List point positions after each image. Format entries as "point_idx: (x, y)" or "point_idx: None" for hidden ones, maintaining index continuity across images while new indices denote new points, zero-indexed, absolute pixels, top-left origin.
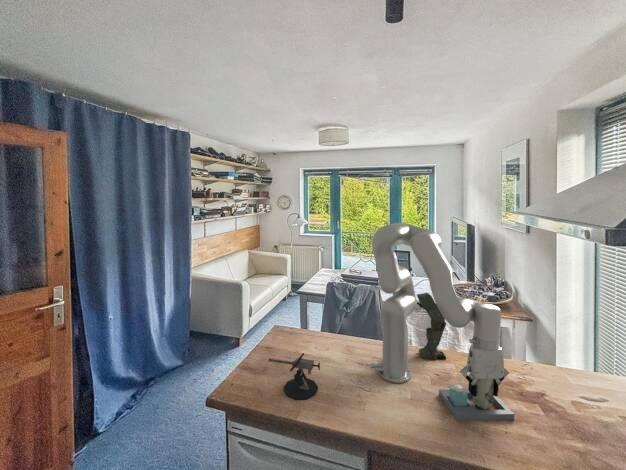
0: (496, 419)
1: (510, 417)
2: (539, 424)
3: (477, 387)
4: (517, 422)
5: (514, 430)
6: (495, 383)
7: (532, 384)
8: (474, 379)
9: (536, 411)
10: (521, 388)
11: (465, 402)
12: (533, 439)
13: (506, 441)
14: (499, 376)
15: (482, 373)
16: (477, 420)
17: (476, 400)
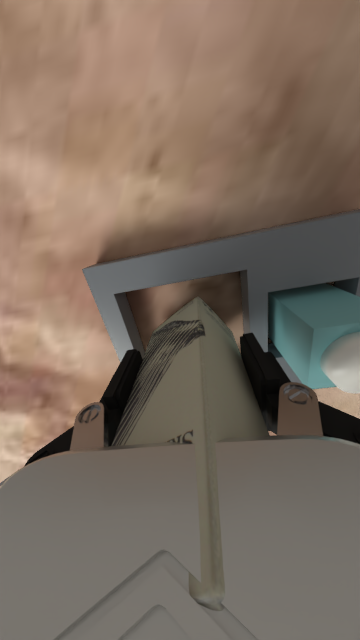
0: (167, 249)
1: (105, 262)
2: (6, 252)
3: (239, 377)
4: (86, 250)
5: (111, 187)
6: (115, 411)
7: (11, 435)
8: (309, 430)
9: (10, 326)
10: (41, 420)
11: (296, 304)
12: (40, 127)
13: (176, 68)
14: (38, 485)
15: (310, 560)
16: (253, 231)
17: (225, 331)
